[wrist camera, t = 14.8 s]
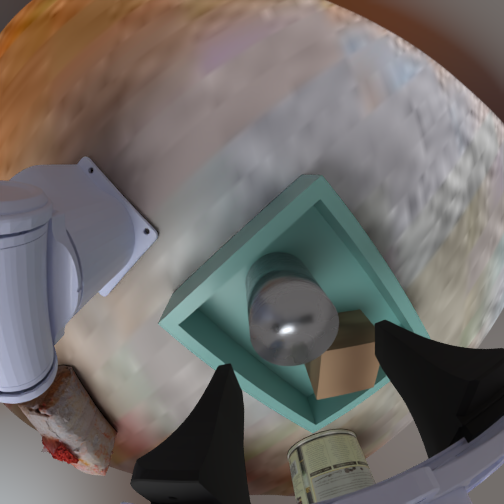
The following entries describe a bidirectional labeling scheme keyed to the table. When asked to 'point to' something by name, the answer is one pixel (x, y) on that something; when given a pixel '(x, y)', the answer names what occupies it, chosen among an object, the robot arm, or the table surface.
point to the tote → (325, 273)
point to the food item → (71, 424)
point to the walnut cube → (346, 359)
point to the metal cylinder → (288, 311)
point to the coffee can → (328, 466)
